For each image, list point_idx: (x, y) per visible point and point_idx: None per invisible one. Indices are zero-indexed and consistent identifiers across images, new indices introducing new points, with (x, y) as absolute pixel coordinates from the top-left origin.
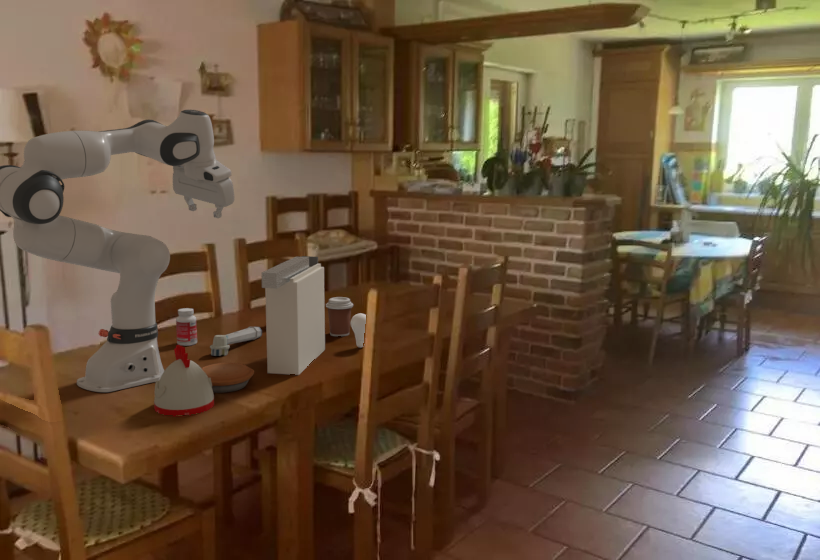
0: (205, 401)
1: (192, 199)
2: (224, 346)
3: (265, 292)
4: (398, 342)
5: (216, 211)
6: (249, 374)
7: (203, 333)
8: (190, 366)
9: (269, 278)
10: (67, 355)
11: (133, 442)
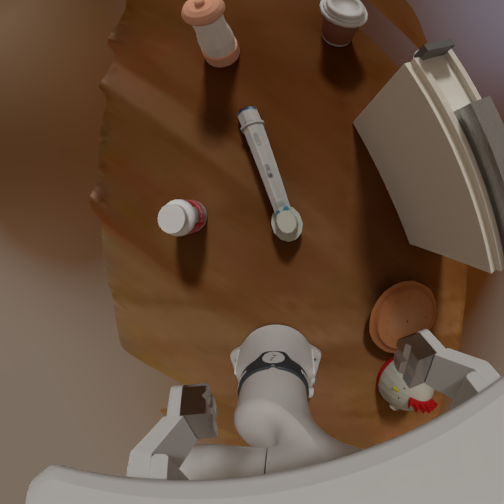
0: None
1: (163, 439)
2: (298, 223)
3: (477, 267)
4: (422, 38)
5: (438, 386)
6: (434, 303)
7: (161, 160)
8: (431, 396)
9: None
10: (134, 349)
11: (416, 427)
